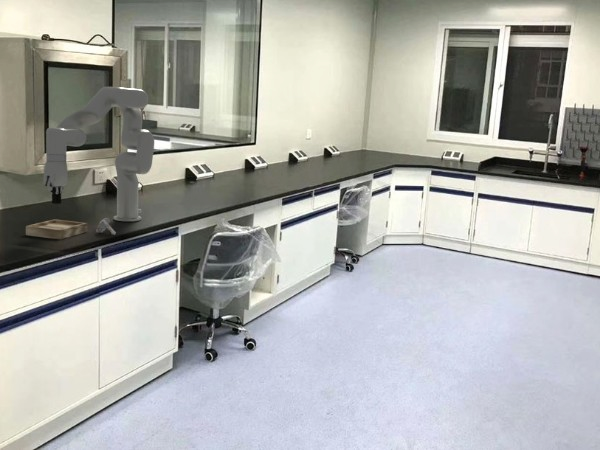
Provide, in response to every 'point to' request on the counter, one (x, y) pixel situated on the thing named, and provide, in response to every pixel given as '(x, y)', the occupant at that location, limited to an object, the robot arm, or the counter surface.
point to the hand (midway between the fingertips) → (56, 203)
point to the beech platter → (56, 229)
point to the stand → (105, 226)
